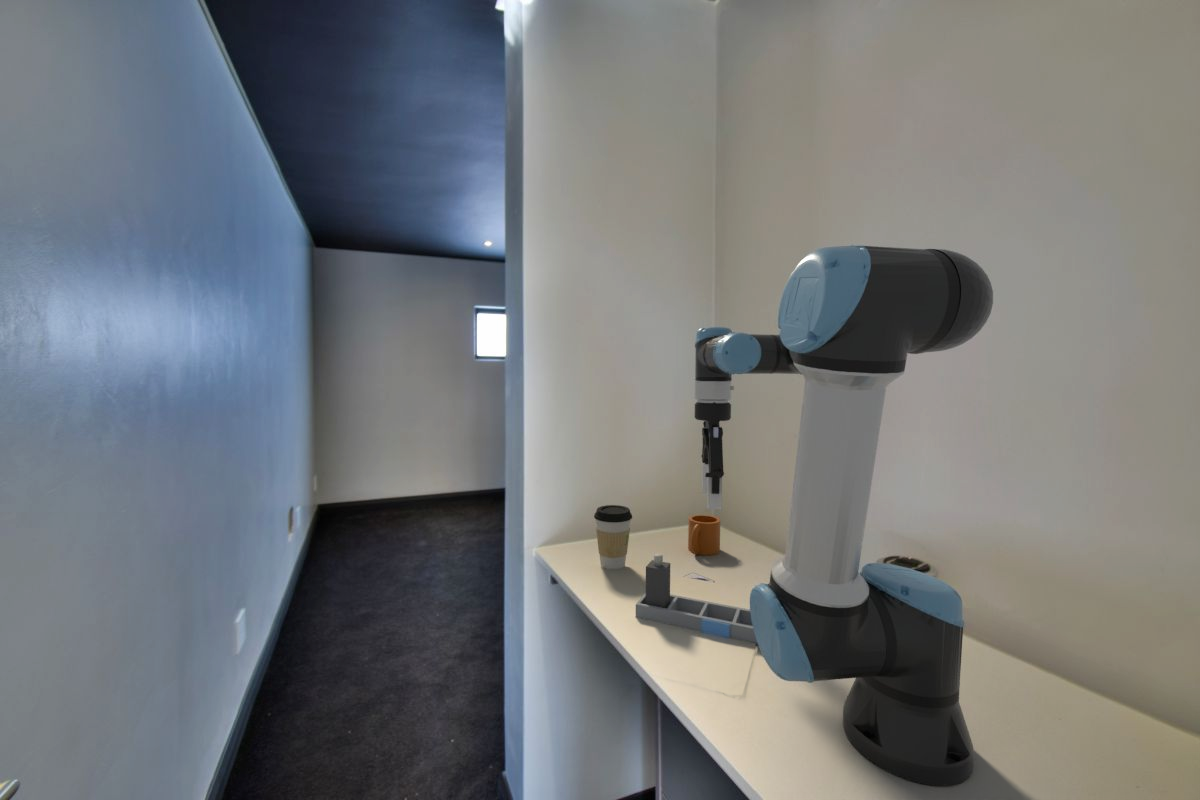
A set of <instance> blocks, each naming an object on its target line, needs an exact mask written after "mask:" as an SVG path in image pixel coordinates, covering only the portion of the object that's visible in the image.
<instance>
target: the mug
mask: <svg viewBox="0 0 1200 800" xmlns="http://www.w3.org/2000/svg"><path fill="white" fill-rule="evenodd" d="M687 530H688V532H687V533H688V534H687V535H688V536H687V537H688V538H687V549H688V551H689V552H691V553H692V554H695V555H697V556H698V555H700V556H701V555H702V556H713V555H718V554H720V551H721V549H720V548H721V519H720V517H717V516H714V515H710V514H694V515H690V516H689V517H688V529H687Z"/></svg>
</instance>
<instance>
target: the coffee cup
mask: <svg viewBox="0 0 1200 800" xmlns="http://www.w3.org/2000/svg"><path fill="white" fill-rule="evenodd" d="M593 517H594V519H595V525H596V527H595V530H596V538H597V548H598V554H599V560H600V562H599V563H600V568H601V569H608V570H619V569H622V568H625V566H626V559H627V555H628V546H629V539H630V530H631V527H630V525H631V520H632V519H633V515H632V513H631V509H630V508H629V507H627V506H625V505H619V504H618V505H617V504H607V505H602V506H598V507H597V508H596V512H595V513H594V516H593Z"/></svg>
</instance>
